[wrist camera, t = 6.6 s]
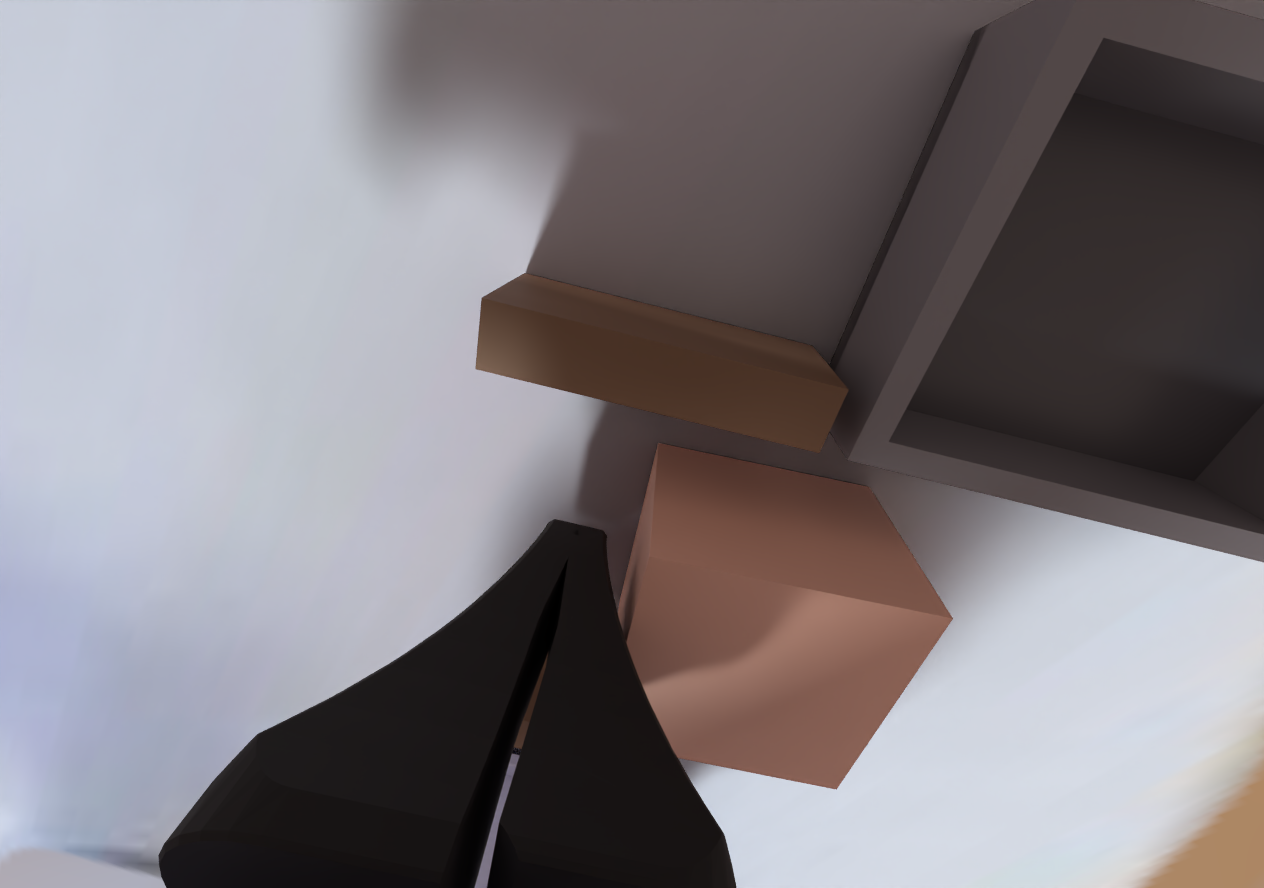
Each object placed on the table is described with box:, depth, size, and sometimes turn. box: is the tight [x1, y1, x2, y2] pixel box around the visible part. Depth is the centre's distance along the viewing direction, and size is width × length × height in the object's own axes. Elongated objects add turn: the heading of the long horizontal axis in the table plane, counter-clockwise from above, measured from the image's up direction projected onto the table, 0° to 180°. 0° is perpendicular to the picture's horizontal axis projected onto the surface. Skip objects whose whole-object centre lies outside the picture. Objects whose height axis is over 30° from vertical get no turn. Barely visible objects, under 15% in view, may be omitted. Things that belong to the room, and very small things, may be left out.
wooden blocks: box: [476, 273, 849, 749], centre depth 12 cm, size 11×6×2 cm, turn 167°
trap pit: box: [830, 0, 1264, 562], centre depth 8 cm, size 6×8×2 cm
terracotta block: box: [618, 443, 953, 789], centre depth 11 cm, size 5×5×4 cm
